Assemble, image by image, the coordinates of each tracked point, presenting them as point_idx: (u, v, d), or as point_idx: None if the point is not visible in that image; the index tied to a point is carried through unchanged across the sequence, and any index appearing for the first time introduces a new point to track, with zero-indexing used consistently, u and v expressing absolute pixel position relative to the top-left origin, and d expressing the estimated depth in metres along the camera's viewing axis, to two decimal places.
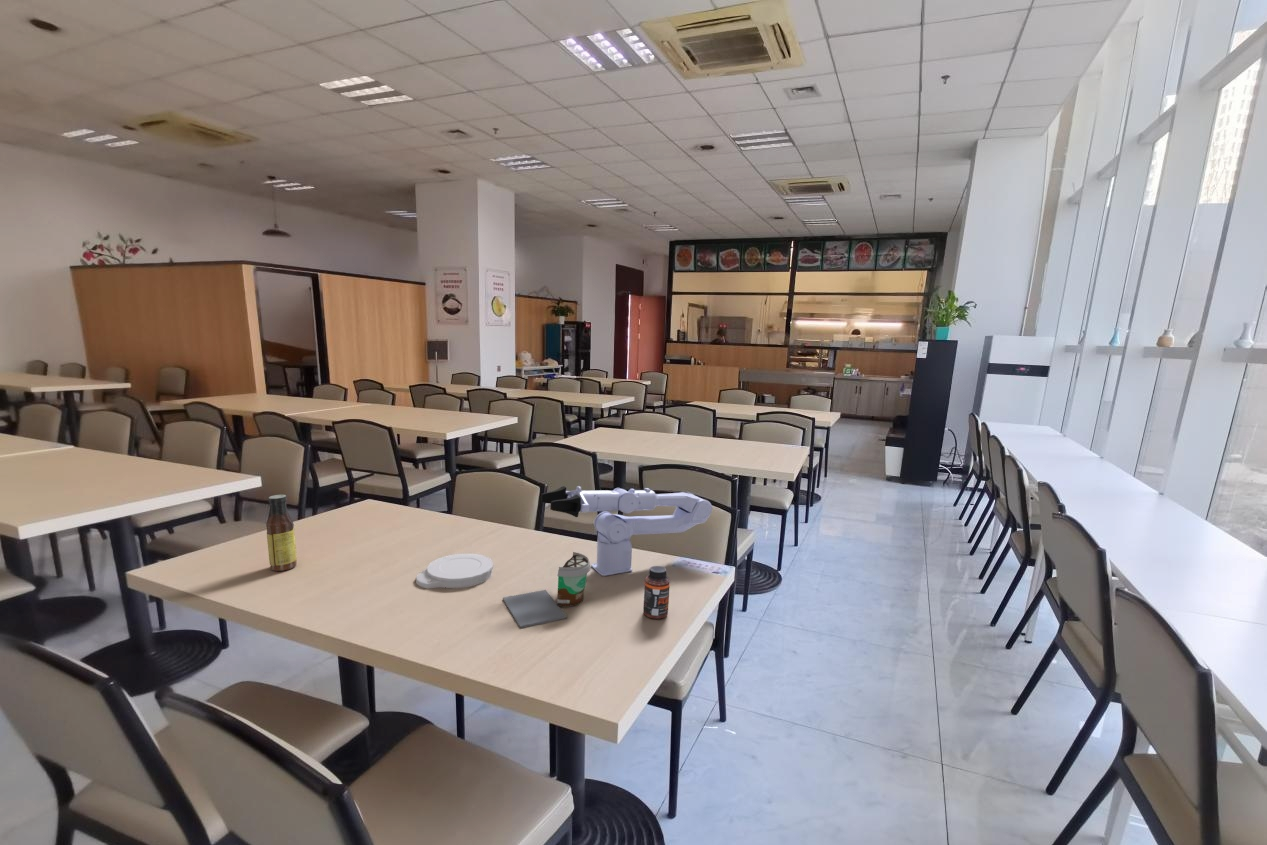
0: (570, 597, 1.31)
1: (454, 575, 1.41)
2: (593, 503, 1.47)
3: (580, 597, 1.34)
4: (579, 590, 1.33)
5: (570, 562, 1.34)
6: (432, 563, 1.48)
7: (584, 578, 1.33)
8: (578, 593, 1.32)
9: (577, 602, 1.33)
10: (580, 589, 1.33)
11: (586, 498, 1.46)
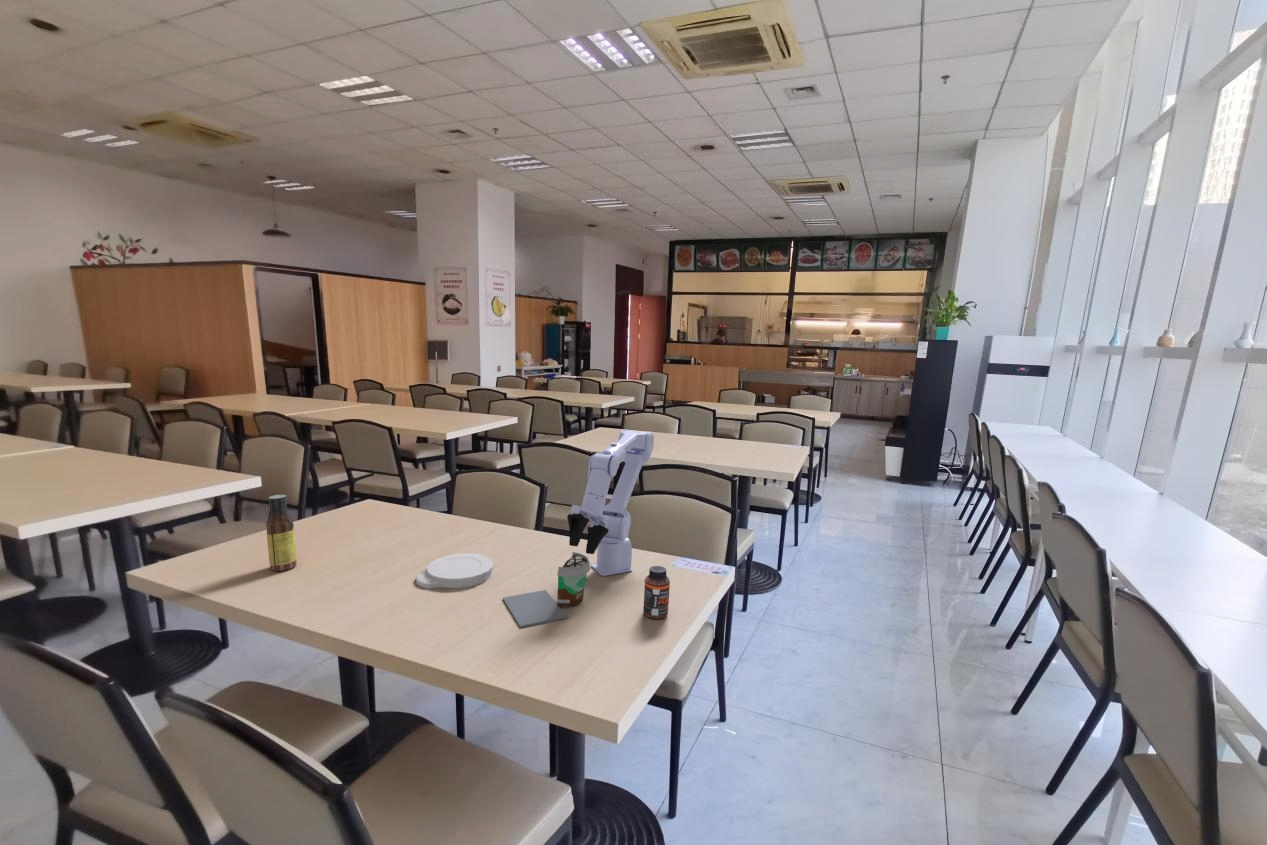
0: (570, 597, 1.31)
1: (454, 575, 1.41)
2: None
3: (580, 597, 1.34)
4: (579, 590, 1.33)
5: (569, 562, 1.34)
6: (432, 563, 1.48)
7: (584, 578, 1.34)
8: (578, 593, 1.32)
9: (577, 602, 1.33)
10: (580, 589, 1.33)
11: None
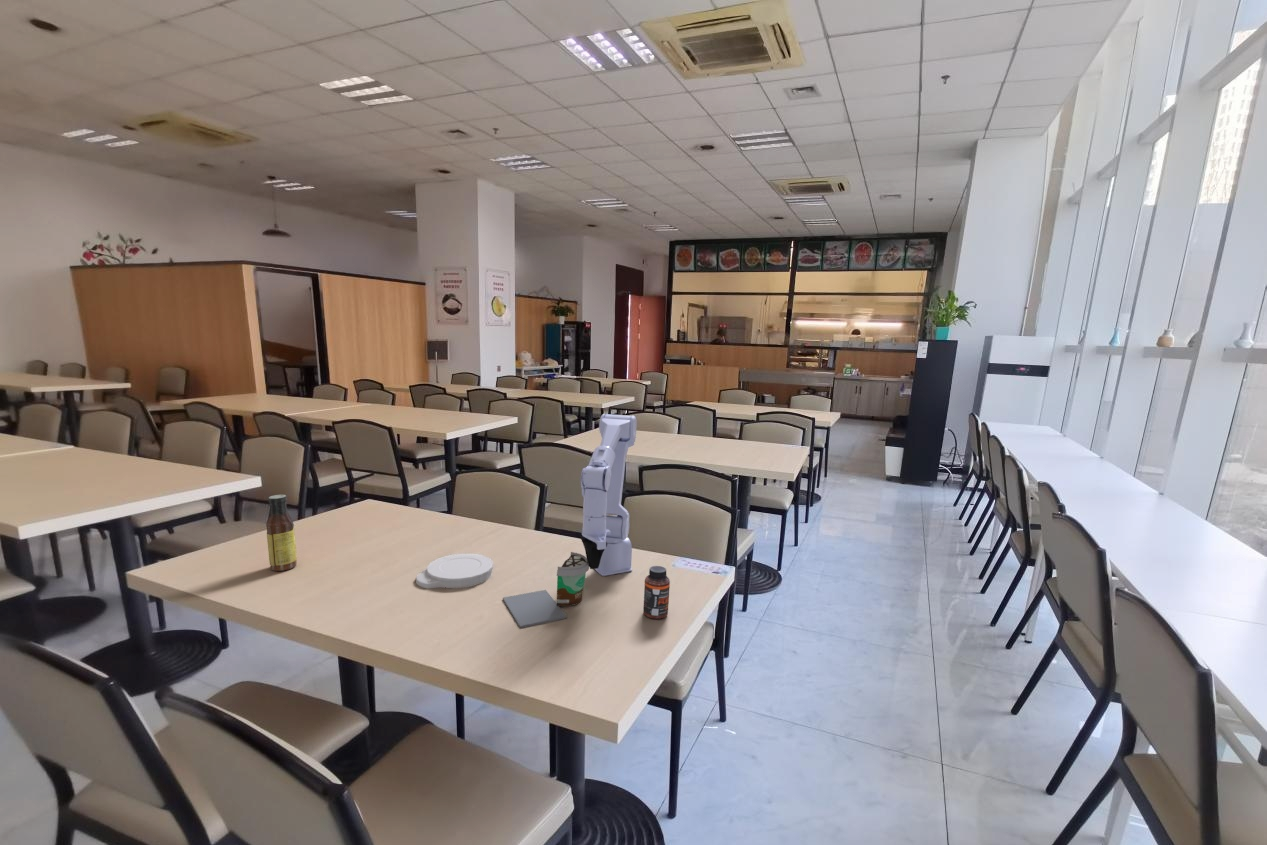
0: (570, 597, 1.31)
1: (454, 575, 1.41)
2: None
3: (579, 596, 1.34)
4: (578, 589, 1.33)
5: (568, 562, 1.35)
6: (432, 563, 1.48)
7: (583, 577, 1.34)
8: (577, 593, 1.33)
9: (576, 601, 1.33)
10: (579, 588, 1.33)
11: None
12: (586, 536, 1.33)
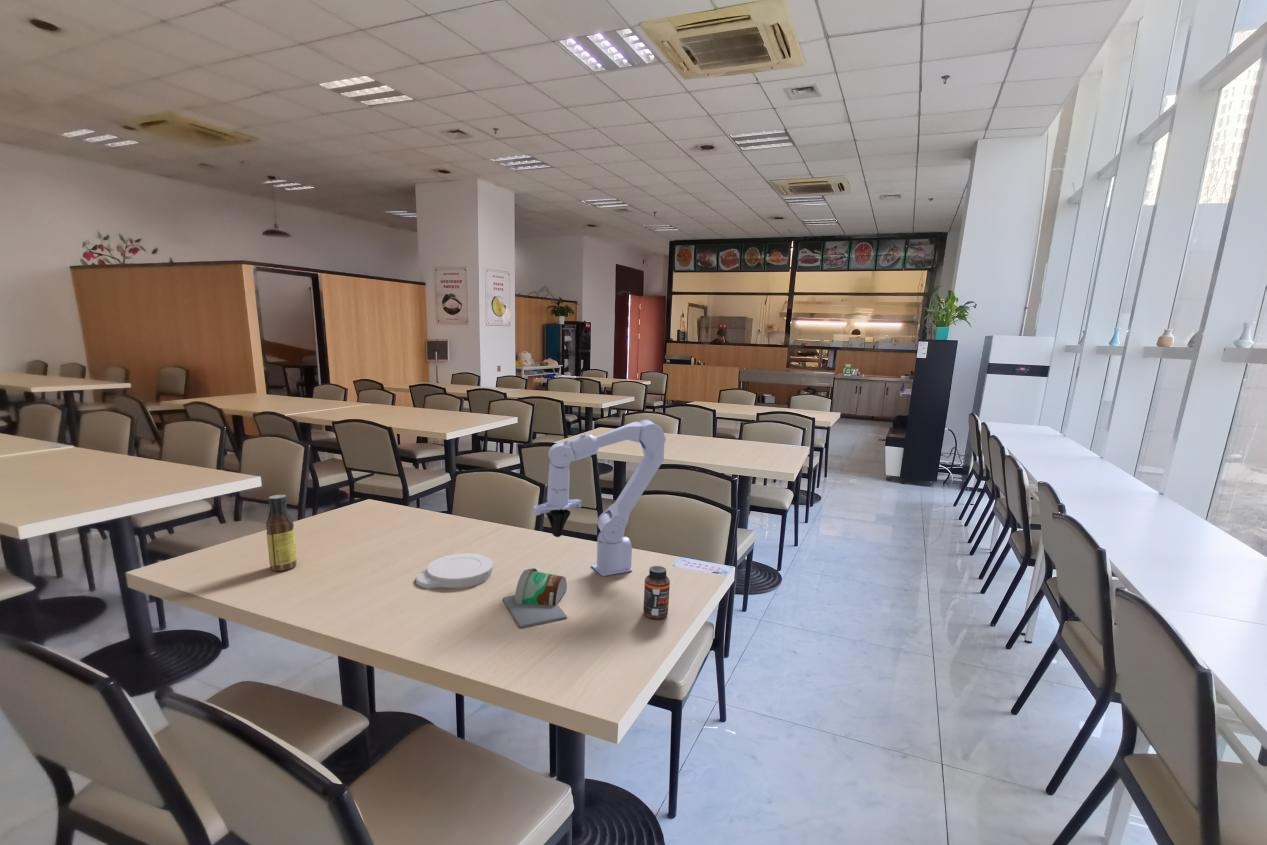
0: (548, 591, 1.32)
1: (454, 575, 1.41)
2: None
3: (553, 580, 1.34)
4: (544, 581, 1.34)
5: None
6: (432, 563, 1.48)
7: (536, 575, 1.35)
8: (547, 583, 1.33)
9: (556, 583, 1.33)
10: (544, 580, 1.34)
11: (568, 499, 1.50)
12: None
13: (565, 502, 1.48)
